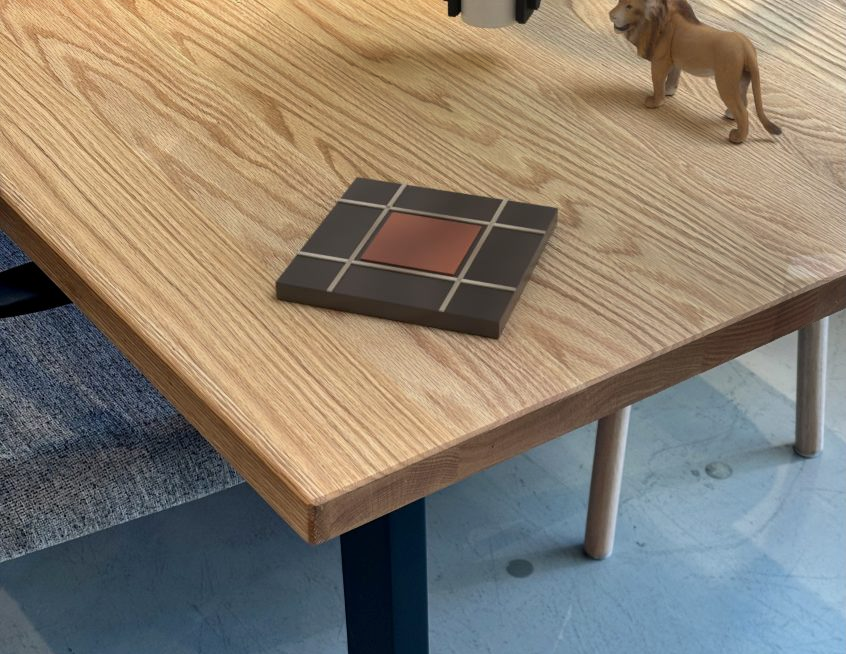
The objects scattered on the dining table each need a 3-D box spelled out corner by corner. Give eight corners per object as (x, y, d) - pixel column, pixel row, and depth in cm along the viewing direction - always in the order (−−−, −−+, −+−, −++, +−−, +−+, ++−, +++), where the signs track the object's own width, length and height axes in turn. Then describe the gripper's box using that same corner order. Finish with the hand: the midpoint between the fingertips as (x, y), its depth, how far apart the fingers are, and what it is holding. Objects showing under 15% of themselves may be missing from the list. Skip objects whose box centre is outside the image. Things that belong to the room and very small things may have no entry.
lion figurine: (591, 98, 101) (600, -22, 95) (629, 75, 104) (641, -43, 98) (762, 154, 94) (784, 28, 88) (798, 128, 97) (822, 4, 91)
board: (557, 223, 87) (558, 206, 86) (498, 339, 77) (499, 320, 76) (357, 192, 90) (356, 175, 89) (276, 299, 80) (274, 280, 79)
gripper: (626, -254, 93) (607, 7, 105) (396, -265, 97) (404, -12, 109) (602, -230, 87) (586, 43, 99) (360, -242, 92) (373, 21, 103)
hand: (491, 11), depth 104 cm, fingers closed on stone, 4 cm apart
